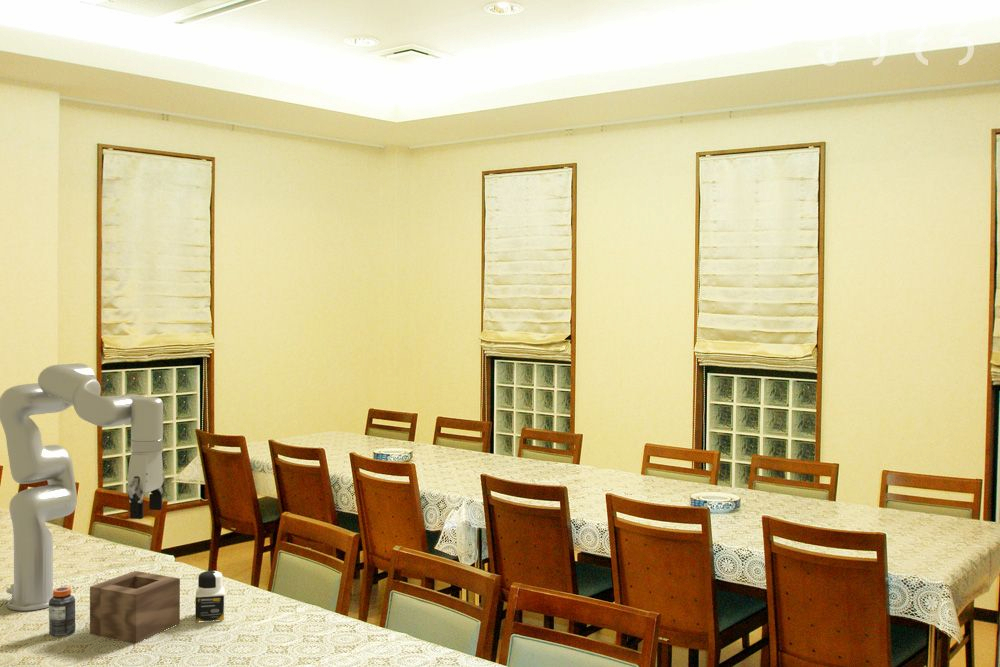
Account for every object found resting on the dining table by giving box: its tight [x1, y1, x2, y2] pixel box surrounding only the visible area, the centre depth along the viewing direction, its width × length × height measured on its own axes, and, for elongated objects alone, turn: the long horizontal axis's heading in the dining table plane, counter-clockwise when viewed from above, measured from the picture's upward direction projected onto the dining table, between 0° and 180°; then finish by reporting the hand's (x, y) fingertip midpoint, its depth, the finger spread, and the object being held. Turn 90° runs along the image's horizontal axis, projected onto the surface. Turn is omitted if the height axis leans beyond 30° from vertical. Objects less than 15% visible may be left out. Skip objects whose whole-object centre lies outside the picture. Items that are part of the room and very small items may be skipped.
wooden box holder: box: [89, 570, 181, 644], centre depth 236 cm, size 15×15×12 cm
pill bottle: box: [48, 586, 77, 638], centre depth 232 cm, size 6×6×11 cm
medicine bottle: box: [194, 570, 226, 623], centre depth 246 cm, size 7×7×12 cm
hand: (146, 514), depth 235 cm, fingers open, 9 cm apart
